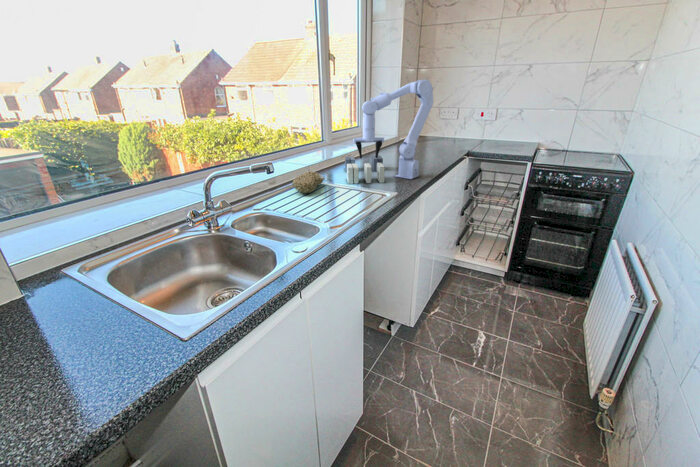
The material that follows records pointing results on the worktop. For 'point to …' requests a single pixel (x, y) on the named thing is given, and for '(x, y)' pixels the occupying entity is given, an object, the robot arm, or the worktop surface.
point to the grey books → (373, 161)
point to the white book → (367, 172)
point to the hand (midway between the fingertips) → (368, 157)
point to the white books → (354, 173)
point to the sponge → (307, 182)
